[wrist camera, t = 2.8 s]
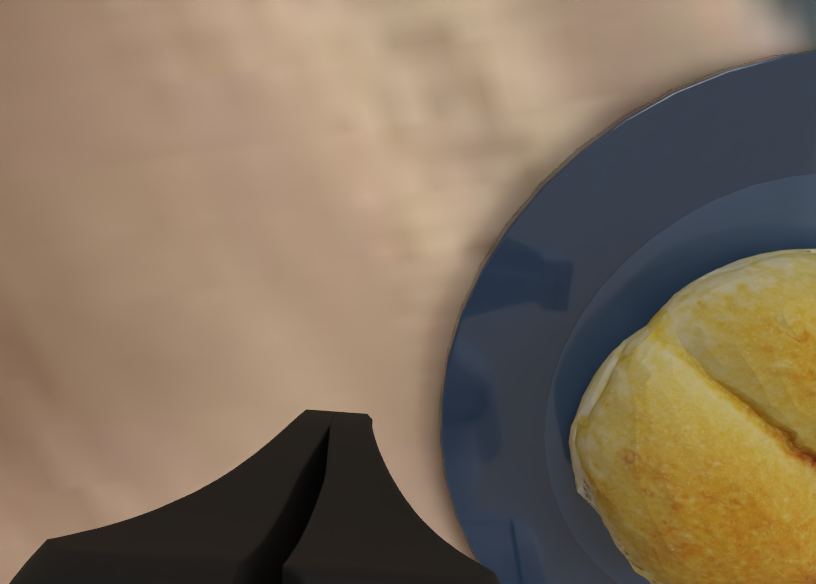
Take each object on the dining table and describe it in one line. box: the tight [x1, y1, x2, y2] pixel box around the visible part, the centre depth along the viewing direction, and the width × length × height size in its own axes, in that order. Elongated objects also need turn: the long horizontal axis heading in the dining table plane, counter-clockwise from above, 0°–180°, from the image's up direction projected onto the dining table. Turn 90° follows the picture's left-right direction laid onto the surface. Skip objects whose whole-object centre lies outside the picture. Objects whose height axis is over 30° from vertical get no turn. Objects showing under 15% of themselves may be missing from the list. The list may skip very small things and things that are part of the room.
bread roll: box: [569, 249, 816, 584], centre depth 15 cm, size 8×9×4 cm
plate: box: [440, 50, 816, 584], centre depth 17 cm, size 17×17×1 cm
